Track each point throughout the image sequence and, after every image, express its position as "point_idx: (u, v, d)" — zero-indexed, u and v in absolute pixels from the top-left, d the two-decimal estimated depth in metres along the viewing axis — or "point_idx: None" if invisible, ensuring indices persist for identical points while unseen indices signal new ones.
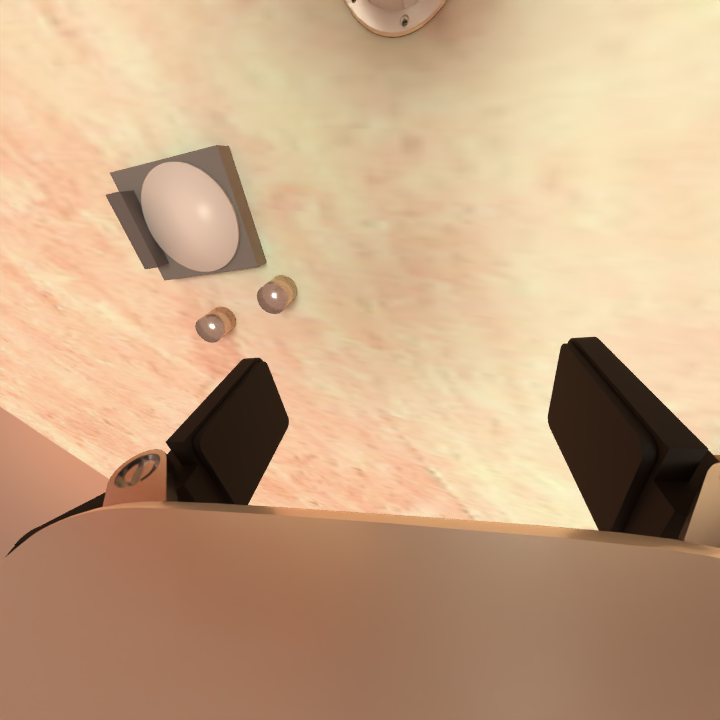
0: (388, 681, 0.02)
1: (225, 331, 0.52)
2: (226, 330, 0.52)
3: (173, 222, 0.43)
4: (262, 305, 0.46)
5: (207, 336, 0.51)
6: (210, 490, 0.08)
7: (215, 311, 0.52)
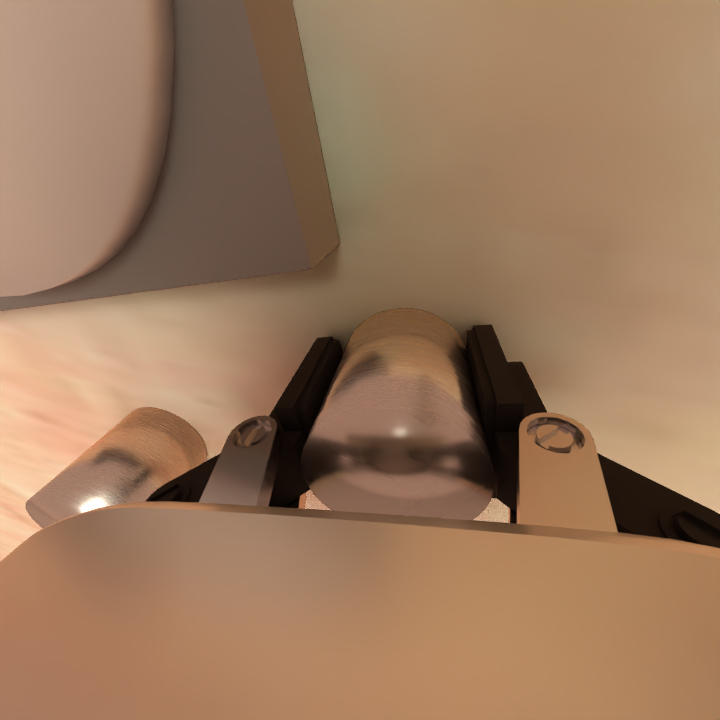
0: (388, 681, 0.02)
1: None
2: None
3: None
4: (329, 496, 0.08)
5: None
6: None
7: (121, 438, 0.13)
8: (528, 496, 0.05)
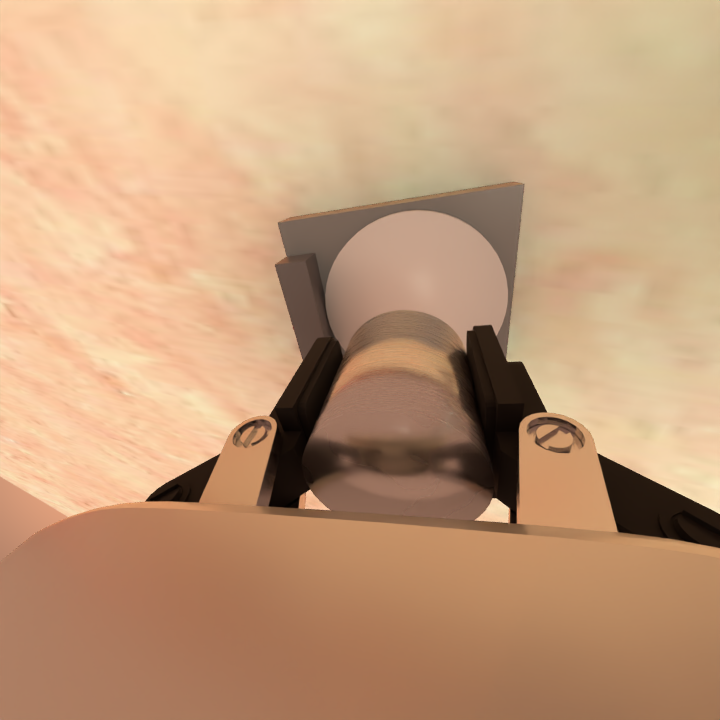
0: (388, 681, 0.02)
1: None
2: None
3: (379, 308, 0.24)
4: (330, 497, 0.08)
5: None
6: None
7: None
8: (528, 496, 0.05)
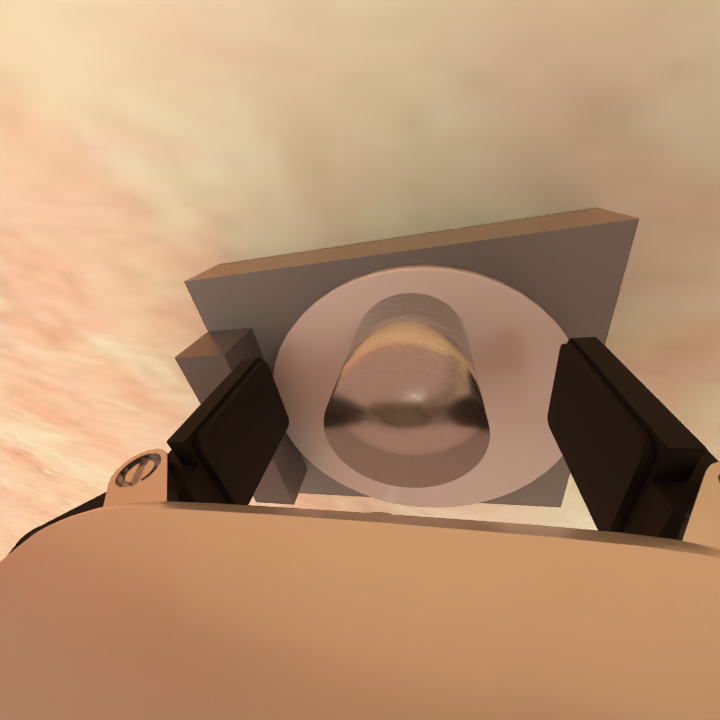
0: (388, 681, 0.02)
1: None
2: None
3: None
4: (347, 452, 0.09)
5: None
6: (210, 490, 0.08)
7: None
8: None
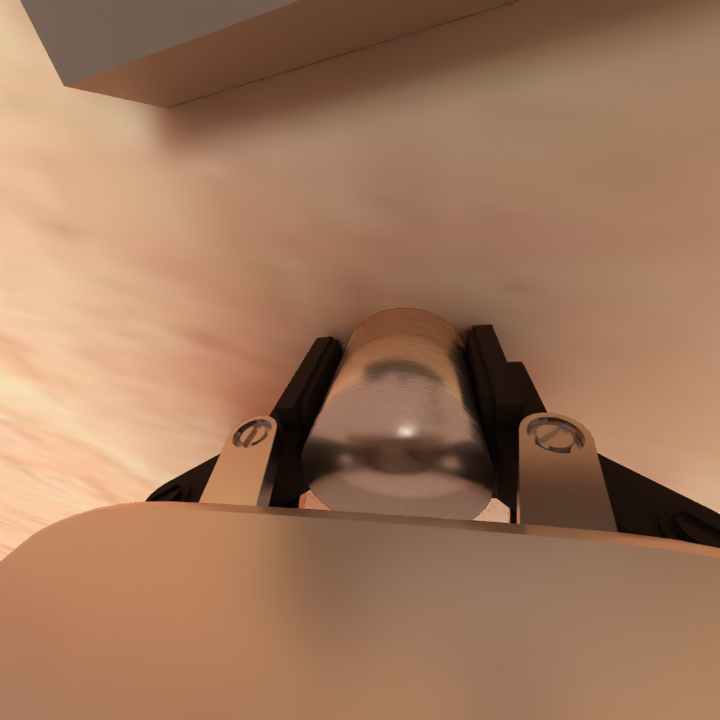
0: (388, 681, 0.02)
1: None
2: None
3: None
4: None
5: (372, 506, 0.08)
6: None
7: (410, 338, 0.08)
8: (528, 496, 0.05)
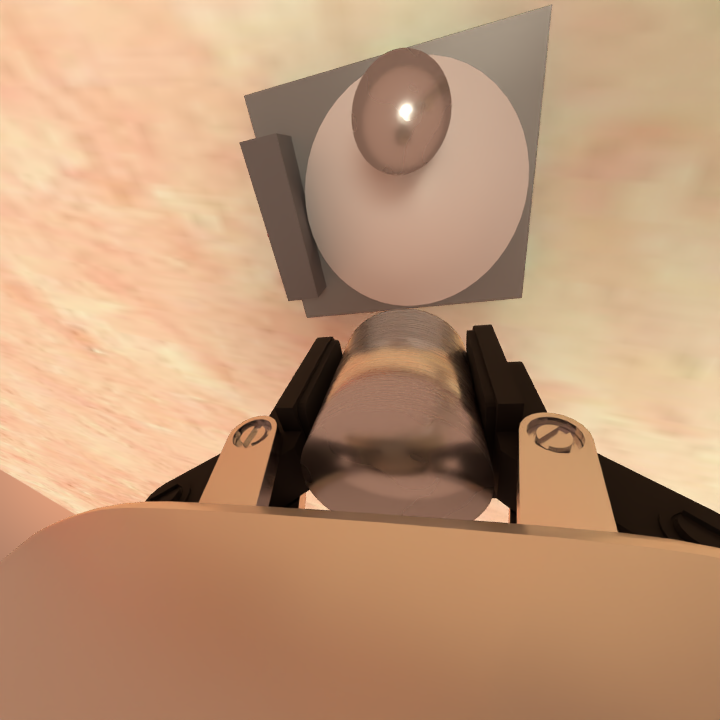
0: (388, 681, 0.02)
1: None
2: None
3: (370, 206, 0.20)
4: (365, 143, 0.14)
5: (372, 507, 0.08)
6: None
7: (410, 339, 0.08)
8: (528, 496, 0.05)
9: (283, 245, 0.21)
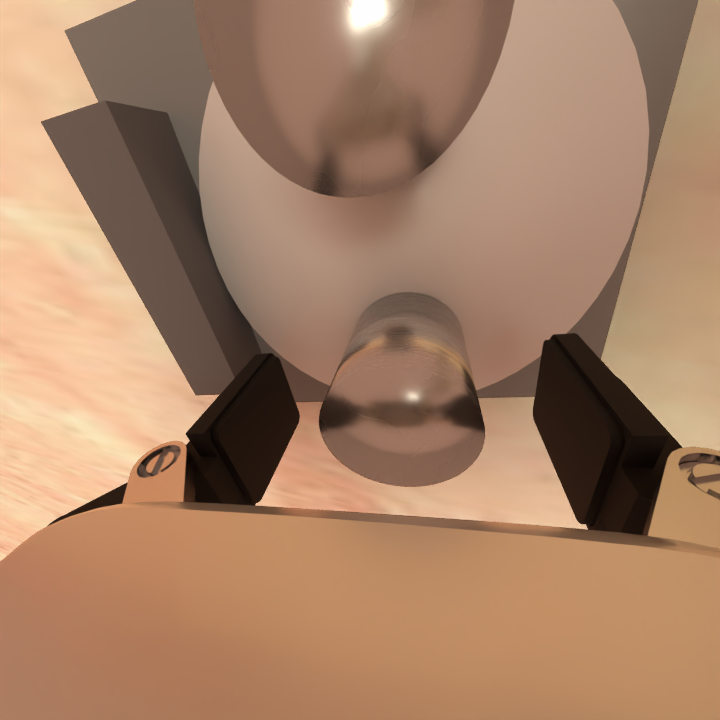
0: (388, 681, 0.02)
1: None
2: None
3: (322, 244, 0.11)
4: (250, 109, 0.05)
5: (379, 459, 0.09)
6: (227, 481, 0.08)
7: (412, 315, 0.09)
8: None
9: (169, 312, 0.12)
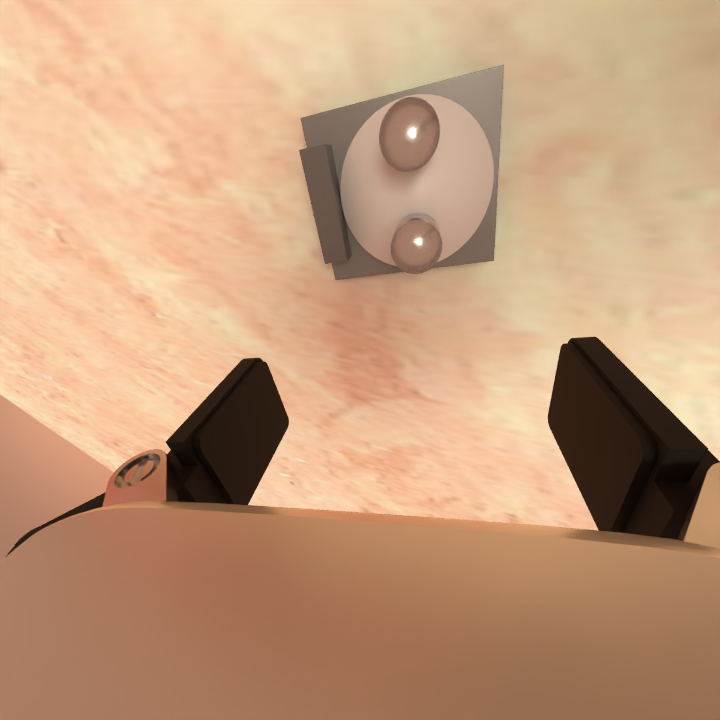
0: (388, 681, 0.02)
1: None
2: None
3: (386, 194, 0.29)
4: (387, 152, 0.23)
5: (409, 261, 0.27)
6: (210, 490, 0.08)
7: (420, 215, 0.28)
8: None
9: (324, 221, 0.30)
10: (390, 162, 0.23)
